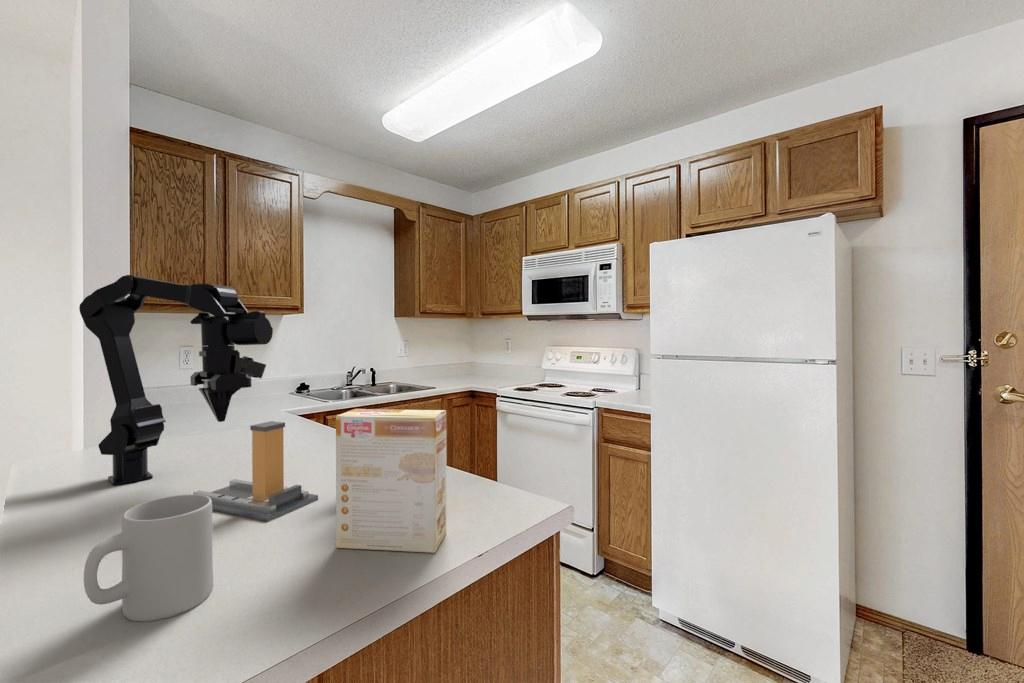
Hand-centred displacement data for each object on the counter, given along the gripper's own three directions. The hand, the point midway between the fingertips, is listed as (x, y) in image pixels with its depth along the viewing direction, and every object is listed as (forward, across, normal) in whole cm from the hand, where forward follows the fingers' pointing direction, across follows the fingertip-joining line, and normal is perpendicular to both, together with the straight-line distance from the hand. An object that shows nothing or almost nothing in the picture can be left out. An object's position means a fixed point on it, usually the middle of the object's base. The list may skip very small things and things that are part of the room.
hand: (221, 421), depth 95 cm
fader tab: (+13, -19, -2) cm, 24 cm away
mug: (+14, -43, +19) cm, 49 cm away
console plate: (+13, -16, 0) cm, 21 cm away
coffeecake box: (+14, -48, -9) cm, 51 cm away
